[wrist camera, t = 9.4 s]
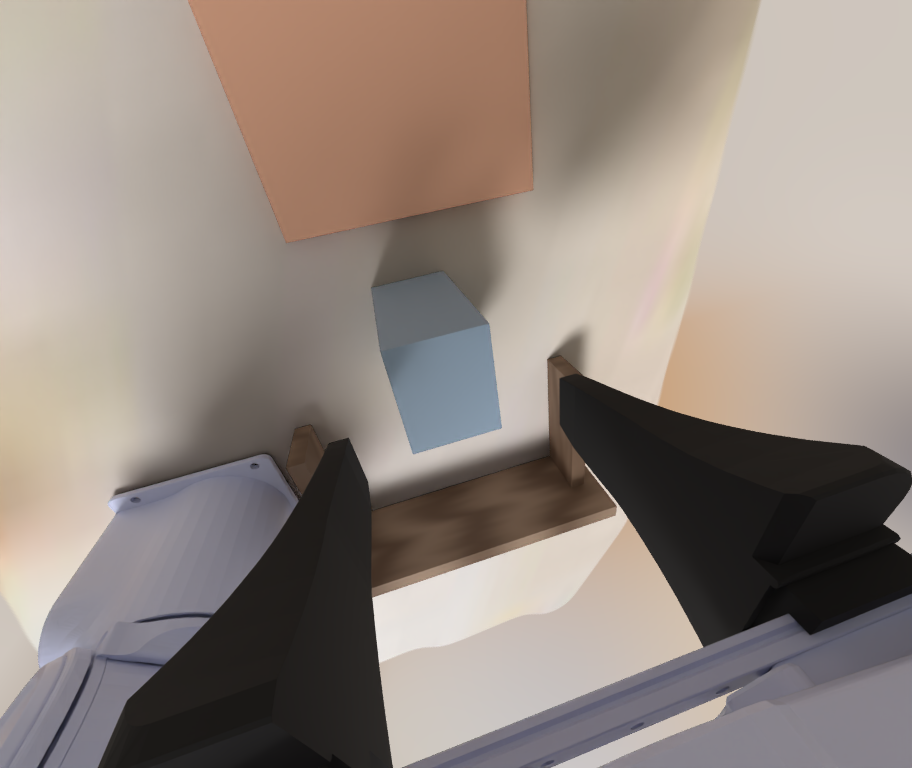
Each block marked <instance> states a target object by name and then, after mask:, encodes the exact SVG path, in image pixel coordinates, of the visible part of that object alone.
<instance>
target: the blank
mask: <svg viewBox="0 0 912 768" xmlns="http://www.w3.org/2000/svg"><path fill="white" fill-rule="evenodd" d="M371 290H372V297H373V304H374V311H375V318H376V325H377V332H378V339H379V346H380V352H381V355H382V358H383V362H384V365H385V368H386V371H387V374H388V377H389V380H390V384H391V387H392V390H393V393H394V396H395V399H396V402H397V406H398V409H399V412H400V415H401V418H402V421H403V424H404V427H405V431H406V434H407V437H408V440H409V443H410V446H411V449H412V453H413V454H416V453H419V452H423V451H426V450H430V449H433V448H436V447H440V446H443V445H446V444H450V443H453V442H457V441H460V440H463V439H467V438H470V437H473V436H477V435H480V434H484V433H487V432H490V431H494V430H497V429H501V428H502V425H501V417H500V409H499V400H498V392H497V384H496V376H495V368H494V359H493V351H492V343H491V335H490V326H489V323H488V322H487V320H486V319H485V318H484V317H483V316H482V315H481V314H480V312H479V311H478V310H477V309H476V308H475V307H474V306H473V304H472V303H471V302H470V301H469V300H468V299H467V298H466V296H465V295H464V294H463V293H462V292H461V291H460V290H459V288H458V287H457V286H456V285H455V284H454V283H453V282H452V280H451V279H450V278H449V277H448V276H447V275H446V274H445V273H444V271H440V272H436V273H432V274H427V275H423V276H419V277H415V278H411V279H406V280H402V281H398V282H394V283H390V284H385V285H381V286H377V287H373V288H371Z"/></svg>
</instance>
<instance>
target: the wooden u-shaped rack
mask: <svg viewBox="0 0 912 768" xmlns="http://www.w3.org/2000/svg"><path fill="white" fill-rule="evenodd" d="M547 363H548V404H549V445H550V456H548V457H545V458H542V459H538V460H535V461H532V462H529V463H525V464H522V465H519V466H516V467H513V468H509V469H506V470H503V471H500V472H496V473H493V474H490V475H487V476H483V477H480V478H477V479H474V480H471V481H467V482H464V483H461V484H458V485H454V486H451V487H448V488H445V489H441V490H438V491H435V492H432V493H429V494H425V495H422V496H419V497H416V498H412V499H409V500H406V501H403V502H399V503H396V504H393V505H390V506H386V507H383V508H380V509H377V510H374V511H372V548H371V583H372V597H375V596H378V595H381V594H384V593H387V592H390V591H393V590H396V589H399V588H402V587H405V586H408V585H411V584H414V583H417V582H420V581H423V580H426V579H429V578H432V577H434V576H437V575H440V574H443V573H446V572H449V571H452V570H455V569H458V568H461V567H464V566H467V565H470V564H473V563H476V562H479V561H482V560H485V559H488V558H491V557H494V556H497V555H500V554H503V553H506V552H508V551H511V550H514V549H517V548H520V547H523V546H526V545H529V544H532V543H535V542H538V541H541V540H544V539H547V538H550V537H553V536H556V535H559V534H562V533H565V532H568V531H571V530H574V529H577V528H579V527H582V526H585V525H588V524H591V523H594V522H597V521H600V520H603V519H606V518H609V517H612V516H615V515H616V508H617V506H616V505H615V503H614V502H613V501H612V500H611V498H610V497H609V496H608V494H607V493H606V492H605V491H604V489H603V488H602V487H601V485H600V484H599V483H598V482H597V480H596V479H595V478H594V476H593V475H592V474H591V473H590V471H589V470H588V469H587V467H586V466H585V462H584V460H583V459H582V458H581V457H580V455H579V454H578V453H577V452H576V450H575V449H574V448H573V446H572V444H571V443H570V441H569V440H568V438H567V436H566V435H565V433H564V431H563V429H562V428H561V426H560V417H559V378H561V377H565V376H569V375H572V374H579V375H582V374H581V373H580V372H578V371H577V370H576V369H575V368H574V367H573V366H572V365H571V364H570V363H569V362H567V361H566V360H565V359H564V358H563V357H562V356H558V357H555V358H551V359H547ZM582 376H583V375H582ZM323 454H324V450H323V448H322V446H321V444H320V442H319V440H318V438H317V436H316V434H315V432H314V430H313V428H312V426H311V425H308V426H304V427H300V428H297V429H295V430H294V435H293V439H292V443H291V448H290V452H289V457H288V461H287V465H286V469H287V471H288V473H289V474H290V476H291V478H292V479H293V481H294V483H295V484H296V486H297V487H298V489H299V491H300V492H301V494H303V492H304V491H305V489H306V487H307V485H308V483H309V481H310V480H311V478H312V476H313V474H314V472H315V470H316V468H317V466H318V464H319V462H320V460H321V458H322V456H323Z"/></svg>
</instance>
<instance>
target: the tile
mask: <svg viewBox="0 0 912 768" xmlns="http://www.w3.org/2000/svg"><path fill="white" fill-rule="evenodd" d="M188 2H189V4H190V7H191V9H192V12H193V14H194V16H195V19H196V21H197V24H198V26H199V29H200V31H201V34H202V36H203V39H204V41H205V44H206V46H207V49H208V51H209V53H210V56H211V58H212V61H213V63H214V66H215V68H216V71H217V73H218V76H219V78H220V81H221V83H222V86H223V88H224V90H225V93H226V95H227V98H228V100H229V103H230V105H231V108H232V110H233V113H234V115H235V118H236V120H237V123H238V125H239V128H240V130H241V132H242V135H243V137H244V140H245V142H246V145H247V147H248V150H249V152H250V155H251V157H252V160H253V162H254V165H255V167H256V169H257V172H258V174H259V177H260V179H261V182H262V184H263V187H264V189H265V192H266V194H267V197H268V199H269V202H270V204H271V206H272V209H273V211H274V214H275V216H276V219H277V221H278V224H279V226H280V229H281V231H282V234H283V236H284V239H285V241H286V243H289V242H294V241H298V240H303V239H308V238H312V237H317V236H322V235H326V234H331V233H336V232H340V231H345V230H350V229H354V228H359V227H363V226H368V225H373V224H377V223H382V222H387V221H391V220H396V219H401V218H405V217H410V216H415V215H419V214H424V213H429V212H433V211H438V210H443V209H447V208H452V207H457V206H461V205H466V204H470V203H475V202H480V201H484V200H489V199H494V198H498V197H503V196H508V195H512V194H517V193H522V192H526V191H531V190H533V169H532V143H531V116H530V90H529V64H528V37H527V11H526V0H188Z"/></svg>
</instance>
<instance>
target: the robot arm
mask: <svg viewBox="0 0 912 768" xmlns="http://www.w3.org/2000/svg"><path fill="white" fill-rule="evenodd" d="M559 417H560V426H561V428H562V429H563V431H564V433H565V435H566V436H567V438H568V440H569V441H570V443H571V444H572V446H573V448H574V449H575V450H576V452H577V453H578V454H579V455H580V457H581V458H582V459H583V460H584V462H585V463H586V464H587V465H588V467H589V468H590V469H591V470H592V472H593V473H594V474H595V475H596V476H597V478H598V479H599V480H600V481H601V483H602V484H603V485H604V486H605V488H606V489H607V490H608V491H609V492H610V494H611V495H612V496H613V497H614V499H615V500H616V501H617V503H618V504H619V505H620V507H621V508H622V509H623V511H624V512H625V514H626V515H627V517H628V519H629V520H630V522H631V523H632V525H633V526H634V527H635V529H636V531H637V532H638V534H639V535H640V537H641V539H642V540H643V542H644V543H645V545H646V547H647V548H648V550H649V551H650V553H651V555H652V556H653V558H654V560H655V561H656V563H657V564H658V566H659V568H660V569H661V571H662V573H663V574H664V576H665V578H666V580H667V581H668V583H669V585H670V586H671V588H672V590H673V592H674V593H675V595H676V597H677V599H678V601H679V602H680V604H681V606H682V608H683V610H684V612H685V613H686V615H687V617H688V619H689V621H690V623H691V624H692V626H693V628H694V630H695V632H696V634H697V635H698V637H699V639H700V641H701V643H702V645H703V648H701V649H698V650H696V651H693V652H691V653H688V654H686V655H683V656H681V657H678V658H676V659H673V660H671V661H668V662H666V663H663V664H661V665H658V666H656V667H653V668H651V669H648V670H646V671H643V672H640V673H638V674H636V675H633V676H631V677H628V678H625V679H623V680H621V681H618V682H615V683H613V684H610V685H608V686H605V687H603V688H600V689H598V690H595V691H593V692H590V693H588V694H585V695H583V696H580V697H578V698H575V699H573V700H570V701H568V702H565V703H563V704H560V705H558V706H555V707H553V708H550V709H548V710H545V711H543V712H540V713H538V714H535V715H533V716H530V717H528V718H525V719H523V720H520V721H518V722H516V723H513V724H510V725H508V726H505V727H503V728H500V729H498V730H495V731H493V732H490V733H488V734H485V735H483V736H480V737H478V738H475V739H473V740H470V741H467V742H465V743H462V744H460V745H457V746H455V747H452V748H450V749H447V750H445V751H442V752H440V753H437V754H435V755H432V756H430V757H428V758H425V759H422V760H420V761H418V762H415V763H413V764H410V765H407V766H405V767H402V768H551V767H553V766H556V765H558V764H560V763H563V762H565V761H568V760H570V759H572V758H575V757H577V756H579V755H582V754H584V753H587V752H589V751H591V750H593V749H596V748H599V747H601V746H603V745H606V744H608V743H610V742H613V741H615V740H618V739H620V738H622V737H625V736H627V735H630V734H632V733H634V732H637V731H639V730H641V729H644V728H646V727H648V726H651V725H653V724H656V723H658V722H660V721H663V720H665V719H668V718H670V717H672V716H675V715H677V714H679V713H682V712H684V711H686V710H689V709H691V708H694V707H696V706H699V705H701V704H703V703H706V702H708V701H711V700H713V699H715V698H718V697H720V696H722V695H725V694H727V693H729V692H732V691H734V690H737V689H739V688H741V689H739V690H738V691H736V692H734V693H732V694H731V695H729V696H728V697H727V700H726V706H725V707H724V709H723V710H722V712H721V713H720V715H719V716H718V717H716V718H715V719H714V720H711V721H709V722H706V723H703V724H700V725H698V726H695V727H693V728H690V729H687V730H685V731H682V732H680V733H677V734H675V735H672V736H670V737H667V738H665V739H662V740H660V741H657V742H655V743H653V744H650V745H648V746H646V747H643V748H641V749H639V750H636V751H634V752H632V753H629V754H627V755H625V756H622V757H620V758H618V759H616V760H614V761H611V762H609V763H607V764H605V765H603V766H601V767H599V768H912V553H911V554H909V553H908V552H906V551H905V550H903V549H902V548H900V547H899V546H897V545H896V544H895V543H896V542H898V541H899V540H900V537H899V535H898V534H897V533H895V532H894V531H892V530H891V529H889V528H888V527H886V526H885V525H883V523H884V522H885V521H886V520H887V518H888V517H889V516H890V515H891V513H892V512H893V511H894V510H895V508H896V507H897V506H898V505H899V504H900V502H901V501H902V500H903V499H904V497H905V496H906V494H907V493H908V491H909V490H910V487H911V485H912V475H911V471H909V470H907V469H906V468H904V467H902V466H900V465H898V464H897V463H895V462H893V461H891V460H889V459H888V458H886V457H884V456H882V455H880V454H879V453H877V452H875V451H873V450H871V449H869V448H867V447H865V446H860V445H850V444H841V443H832V442H822V441H813V440H805V439H798V438H791V437H785V436H778V435H771V434H766V433H761V432H755V431H750V430H745V429H740V428H736V427H731V426H726V425H722V424H718V423H714V422H709V421H705V420H702V419H699V418H695V417H691V416H688V415H684V414H681V413H678V412H675V411H672V410H668V409H666V408H663V407H660V406H657V405H654V404H651V403H649V402H646V401H643V400H641V399H638V398H635V397H633V396H630V395H628V394H625V393H623V392H621V391H618V390H616V389H613V388H611V387H609V386H606V385H604V384H601V383H599V382H597V381H594V380H592V379H590V378H587V377H584V376H582V375H579V374H572V375H569V376H565V377H561V378H559ZM252 463H256V464H258V465H253V464H252ZM136 497H138V498H136ZM108 506H109V507H110V508H111V509H112V510H113V511H114V512H115V513H116V515H115V516H114V518H113V519H112V521H111V522H110V523H109V525H108V526H107V528H106V529H105V531H104V532H103V534H102V535H101V536H100V538H99V539H98V541H97V542H96V544H95V545H94V547H93V548H92V549H91V551H90V552H89V554H88V555H87V557H86V558H85V560H84V561H83V562H82V564H81V565H80V567H79V568H78V570H77V571H76V573H75V574H74V575H73V577H72V578H71V580H70V581H69V583H68V584H67V586H66V587H65V588H64V590H63V591H62V593H61V594H60V596H59V597H58V599H57V600H56V602H55V603H54V605H53V606H52V608H51V610H50V612H49V614H48V616H47V618H46V621H45V623H44V626H43V629H42V633H41V637H40V642H39V649H38V662H39V668H40V669H39V670H38V671H37V673H36V674H35V675H34V676H33V677H32V678H31V679H30V681H29V682H28V683H27V684H26V685H25V687H24V688H23V689H22V691H21V692H20V693H19V695H18V696H17V697H16V698H15V700H14V701H13V702H12V704H11V705H10V706H9V708H8V709H7V711H6V712H5V713H4V714H3V716H2V717H1V719H0V768H393V765H392V759H391V752H390V745H389V737H388V730H387V723H386V716H385V709H384V701H383V694H382V685H381V677H380V669H379V660H378V651H377V641H376V632H375V622H374V611H373V601H372V583H371V548H372V510H371V502H370V493H369V486H368V481H367V478H366V476H365V474H364V472H363V469H362V467H361V465H360V462H359V460H358V458H357V456H356V453H355V451H354V449H353V447H352V444H351V442H350V440H349V438H346V439H343V440H339V441H336V442H332V443H329V445H328V446H327V448H326V450H325V452H324V454H323V456H322V458H321V460H320V462H319V464H318V466H317V468H316V470H315V472H314V474H313V476H312V478H311V480H310V481H309V483H308V485H307V487H306V489H305V491H304V492H303V494H302V496H301V498H300V500H298V499H297V497H296V495H295V494H294V492H293V491H292V489H291V487H290V486H289V484H288V483H287V481H286V479H285V478H284V476H283V475H282V473H281V471H280V470H279V468H278V467H277V465H276V463H275V462H274V460H273V459H272V457H271V456H269V455H266V454H261V455H257V456H254V457H250V458H247V459H243V460H239V461H236V462H232V463H229V464H225V465H222V466H218V467H214V468H211V469H207V470H204V471H200V472H197V473H193V474H190V475H186V476H182V477H179V478H175V479H172V480H168V481H165V482H161V483H157V484H154V485H150V486H147V487H143V488H140V489H136V490H132V491H129V492H125V493H122V494H118V495H115V496H113V497H112V498H111V499H110V500H109V502H108Z"/></svg>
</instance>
